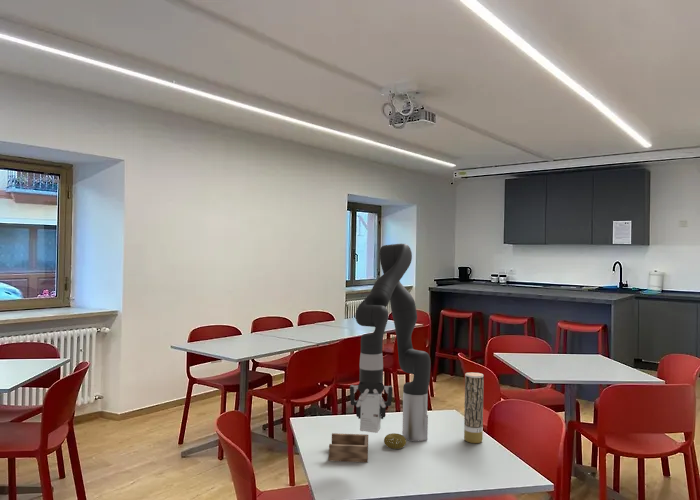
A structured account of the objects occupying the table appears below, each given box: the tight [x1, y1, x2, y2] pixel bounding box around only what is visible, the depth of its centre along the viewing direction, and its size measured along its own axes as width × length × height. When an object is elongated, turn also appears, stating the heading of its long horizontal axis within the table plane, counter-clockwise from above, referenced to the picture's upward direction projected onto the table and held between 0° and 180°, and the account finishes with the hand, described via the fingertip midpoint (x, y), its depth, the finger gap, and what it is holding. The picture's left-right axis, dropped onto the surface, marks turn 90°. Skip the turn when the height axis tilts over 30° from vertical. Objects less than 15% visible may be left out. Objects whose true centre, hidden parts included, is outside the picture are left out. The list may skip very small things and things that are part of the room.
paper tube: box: [463, 372, 485, 444], centre depth 198 cm, size 7×7×25 cm
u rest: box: [328, 432, 369, 463], centre depth 181 cm, size 13×12×5 cm
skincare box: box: [359, 392, 383, 434], centre depth 169 cm, size 6×4×12 cm
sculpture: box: [383, 432, 407, 450], centre depth 190 cm, size 8×4×8 cm
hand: (370, 418), depth 169 cm, fingers closed on skincare box, 6 cm apart
